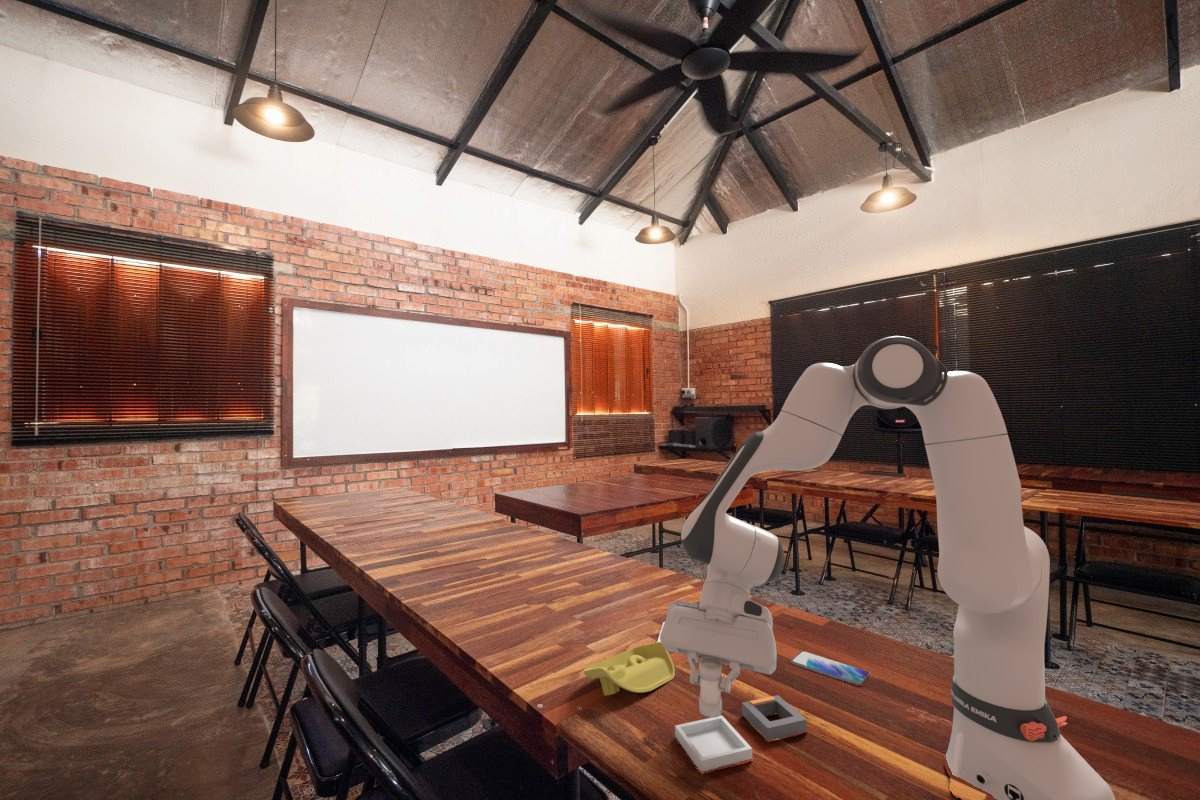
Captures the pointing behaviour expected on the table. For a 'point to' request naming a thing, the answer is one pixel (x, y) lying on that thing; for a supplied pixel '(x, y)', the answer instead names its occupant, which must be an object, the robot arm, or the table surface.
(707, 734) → the tray
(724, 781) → the table surface
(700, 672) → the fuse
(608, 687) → the plastic component
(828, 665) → the smartphone
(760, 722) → the block
